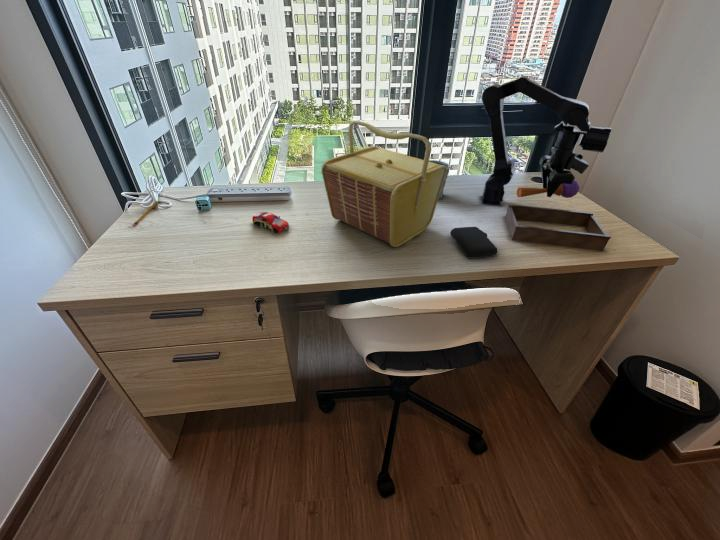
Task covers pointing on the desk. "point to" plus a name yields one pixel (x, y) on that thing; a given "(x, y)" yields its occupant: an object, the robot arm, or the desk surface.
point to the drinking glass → (446, 173)
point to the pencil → (144, 214)
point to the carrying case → (473, 242)
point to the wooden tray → (590, 240)
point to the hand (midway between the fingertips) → (546, 193)
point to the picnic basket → (383, 188)
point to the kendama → (562, 190)
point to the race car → (270, 222)
